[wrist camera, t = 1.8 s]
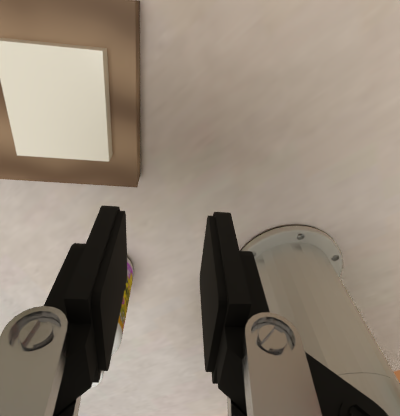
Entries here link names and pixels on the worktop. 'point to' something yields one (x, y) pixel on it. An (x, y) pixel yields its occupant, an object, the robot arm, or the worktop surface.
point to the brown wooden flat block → (117, 73)
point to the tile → (57, 99)
